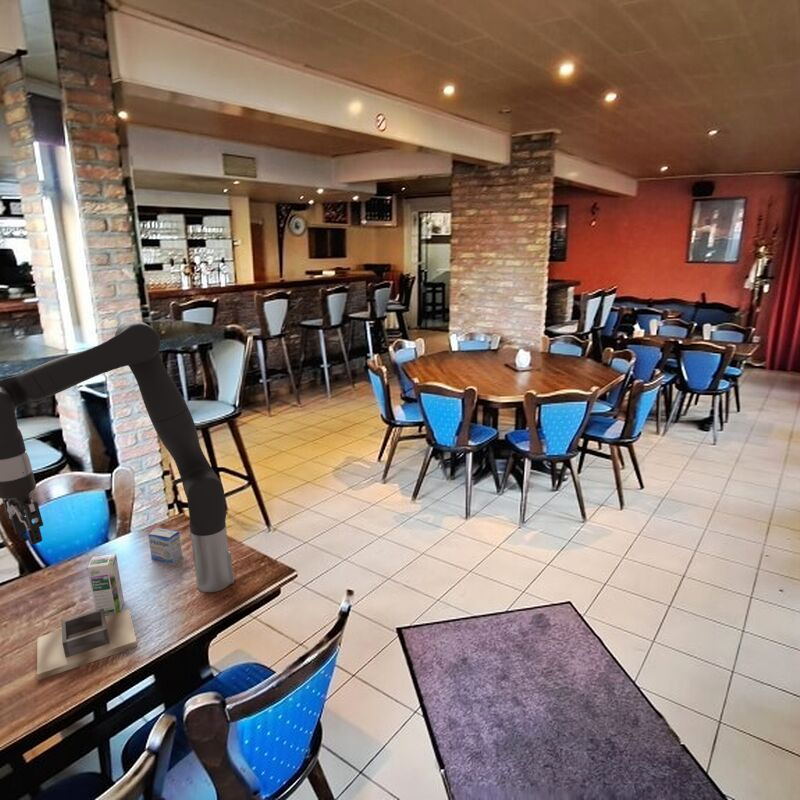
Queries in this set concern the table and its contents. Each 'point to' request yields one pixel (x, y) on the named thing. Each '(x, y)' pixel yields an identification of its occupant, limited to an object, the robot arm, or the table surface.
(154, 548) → the medicine box
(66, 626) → the socket stand
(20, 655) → the table surface
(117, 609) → the syrup box
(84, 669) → the table surface
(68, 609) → the table surface
